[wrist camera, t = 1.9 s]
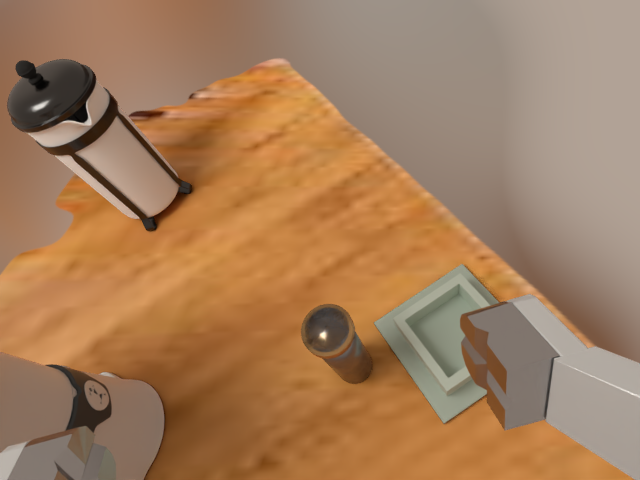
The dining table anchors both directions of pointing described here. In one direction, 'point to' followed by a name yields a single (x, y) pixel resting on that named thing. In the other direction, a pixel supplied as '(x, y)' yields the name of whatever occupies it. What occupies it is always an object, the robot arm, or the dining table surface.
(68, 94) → the coffee press
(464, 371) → the green square tray
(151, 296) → the dining table surface
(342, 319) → the pin
